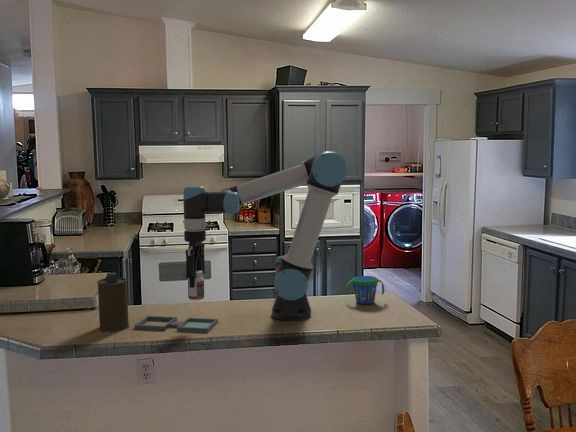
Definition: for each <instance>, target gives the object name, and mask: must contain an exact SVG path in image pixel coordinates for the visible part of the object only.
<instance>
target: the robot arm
mask: <svg viewBox="0 0 576 432" xmlns="http://www.w3.org/2000/svg"><path fill="white" fill-rule="evenodd" d="M347 172H348V166H347V162H346V160H345V159H344V157H343V156H342V155H341V154H340V153H338V152H336V151H331V150H325V151H322V152H319V153H318V154H316V155H314V156H312V157H309V158H307V159H305V160H302V161H301V163H300V164H298V165H296V166H292V167H289V168H285V169H283V170H280V171H276V172H274V173H271V174H268V175H265V176H261V177H259V178H255V179H252V180H249V181H246V182H244V183H243V182H242V183H240V184H237V185H234V186H230V187H229V188H228V187H227V188H223V189H221V190H220V191H211V192H210V191H206V188H205V186H202V185H200V186H199V185H191V186H185V187H184V188H183V199H182V201H183V221H182V224H183V227H184V232H183V239H184V242H186V243H188V247H187V249H185V252H184V253H185V274H186V275H185V278H186V279H188V278H189V296H197V278H196V270H201V271H202V273H203V275H202V277H203V278H204V274H206V266H205V265H206V264H205V263H206V262H205V243H202V242H205V241H206V239H207V237H206V236H207V234H206V230H205V229H206V228H207V227H206V226H207V225H206V214H228V215H229V214H237V213H238V212H239V211H240V206H243V205H245V204H249V203H251V202H255V201H257V200H260V199H264V198H268V197H270V196H275V195H277V194H280V193H283V192H286V191H289V190H292V189H294V188H299V187H301V186H302V187H303V186H305V185H306V187H307V188H308V191H307V194H306V197H305V200H304V203H303V207H302V210H301V212H300V216H299V218H298V222H297V225H296V227H295V231H294V233H293V235H292V236H293V237H292V239H291V243H290V246H289V248H288V251H287V253H286V254H284V255H282V256H277V257H276V258H275V263H274V264H275V277H274V280H273V286H274V289H275V299H274V300H273V305H272V308H271V316H272V318H274V319H277V320H279V321H280V320H281V321H291V322H292V321H302V320H306V319H308V318H310V317H311V316H312V307H311V306H310V302H309V299H308V296H307V291H308V288H309V280H310V278H311V275H312V271H313V269H314V266H313V264H312V258H313V256H314V255H313V254H314V251H315V249H316V245H317V243H318V240H319V237H320V234H321V231H322V228H323V226H324V223H325V220H326V217H327V213H328V210H329V207H330V204H331V201H332V198H334V197H336V196H338V195H339V191H340V190H341V187H342V183H343V181H344V179H346V176H347Z"/></svg>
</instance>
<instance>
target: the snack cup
mask: <svg viewBox="0 0 576 432" xmlns="http://www.w3.org/2000/svg"><path fill="white" fill-rule="evenodd" d="M351 283H352V286H353V289H354V297H355V301H356V303H358V304H359V305H372V304H374V303H375V300H376V295H377V287H378V283H381V289H382V290H381V294H382V295H384V294H385V285H384V282H383V281H382V280H380V279H379V278H378V277H376V276H372V275H359V276H354V277H352V279H351V280H349V281H348V282H347V284H346V286H345V287H346V288H345V292H346V295H347V296H349V289H348V287H349V285H350V284H351Z"/></svg>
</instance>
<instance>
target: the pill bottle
mask: <svg viewBox="0 0 576 432" xmlns="http://www.w3.org/2000/svg"><path fill="white" fill-rule="evenodd" d="M202 275H203V277H202ZM196 278H197V296H189V278H187V295H188V296H187V298H188V300H190V301H201V300H202V301H203V299H204V298H205V279H204V274H203V273H202V271H201V270H196Z"/></svg>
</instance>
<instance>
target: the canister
mask: <svg viewBox="0 0 576 432" xmlns="http://www.w3.org/2000/svg"><path fill="white" fill-rule="evenodd" d="M96 284H97V294H98V310H99V311H98V313H99V314H98V315H99V316H98V317H99V328H98V329H99V330H100V331H101V332H105V333H112V332H116V333H117V332H121V331H124V330H126V329H129V328H130V324H129V305H128V304H129V303H128V279H127V278H125V277H120V276H119V277H118V274H117V272H107V273H106V277H104V278H102V279H101V278H100V279H99V280H97V282H96Z"/></svg>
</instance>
